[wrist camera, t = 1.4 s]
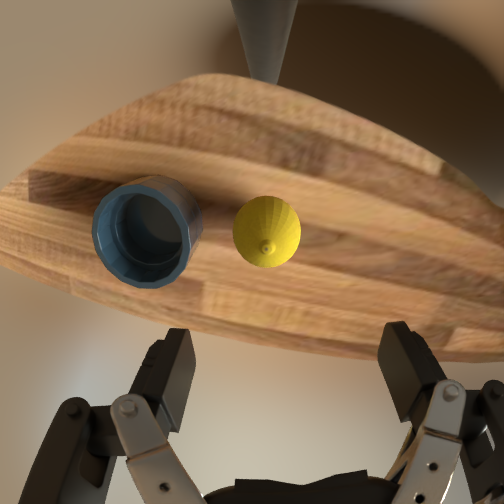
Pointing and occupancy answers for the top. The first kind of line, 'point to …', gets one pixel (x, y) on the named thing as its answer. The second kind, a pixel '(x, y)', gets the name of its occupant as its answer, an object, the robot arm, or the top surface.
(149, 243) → the bowl
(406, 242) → the top surface
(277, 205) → the lemon
